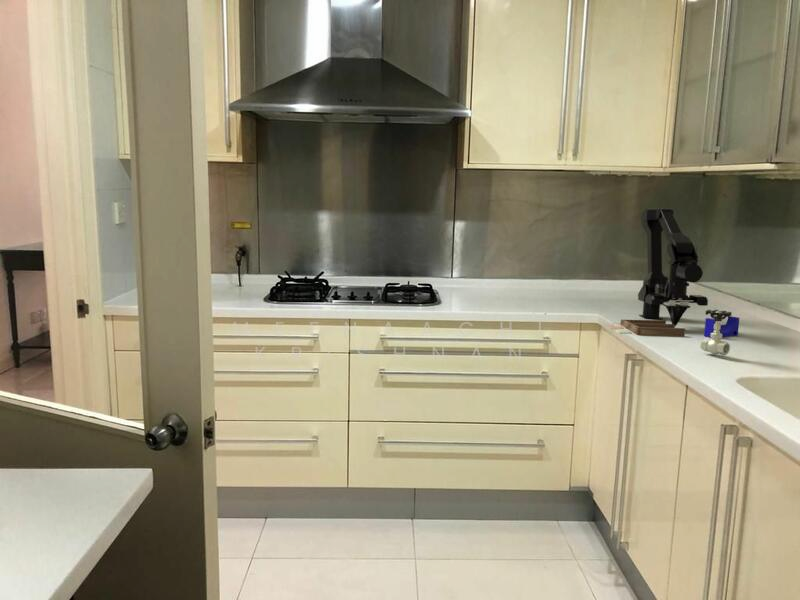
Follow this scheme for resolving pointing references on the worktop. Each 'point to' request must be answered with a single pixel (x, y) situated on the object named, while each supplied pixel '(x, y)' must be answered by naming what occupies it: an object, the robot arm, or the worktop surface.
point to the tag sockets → (649, 328)
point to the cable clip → (722, 327)
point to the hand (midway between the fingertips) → (674, 325)
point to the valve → (716, 335)
